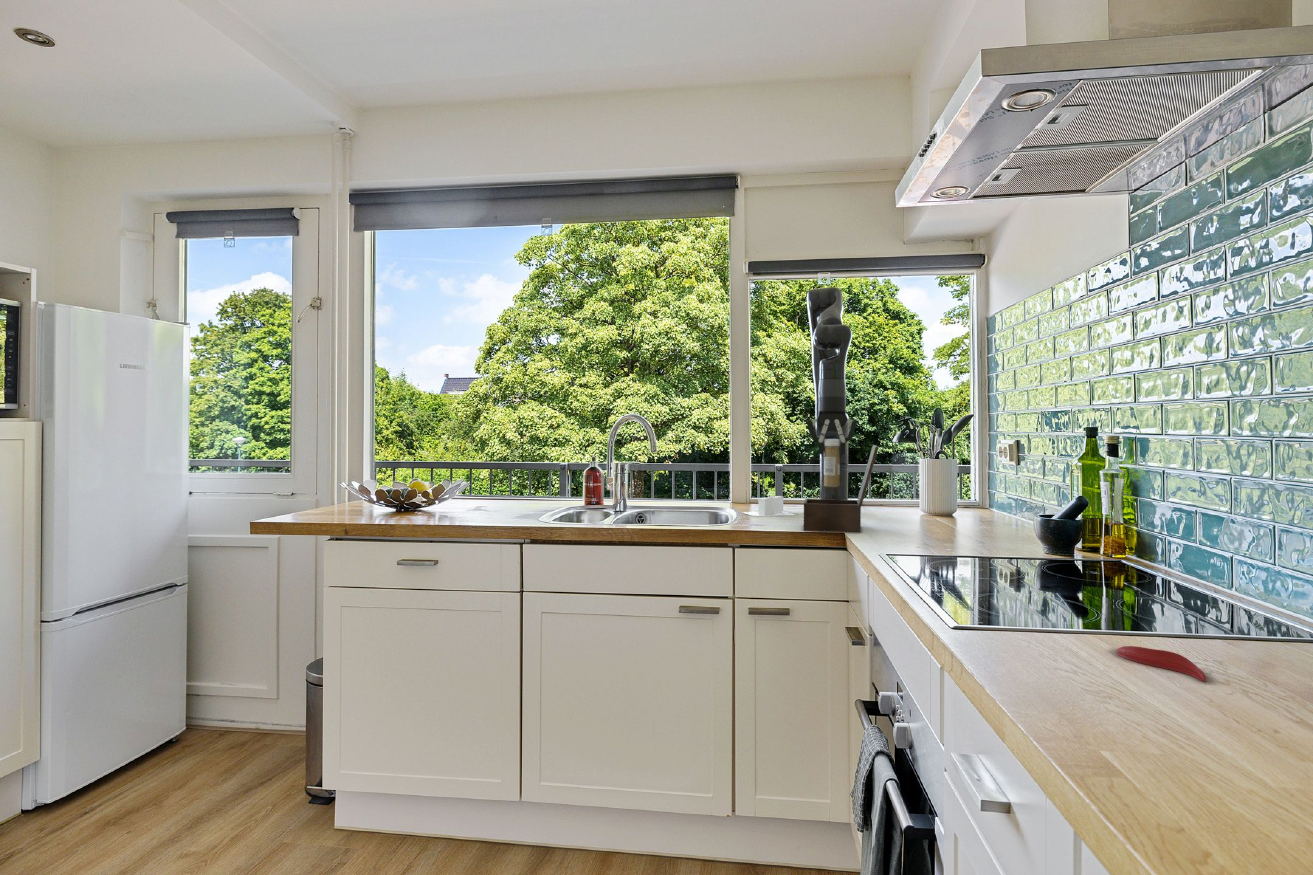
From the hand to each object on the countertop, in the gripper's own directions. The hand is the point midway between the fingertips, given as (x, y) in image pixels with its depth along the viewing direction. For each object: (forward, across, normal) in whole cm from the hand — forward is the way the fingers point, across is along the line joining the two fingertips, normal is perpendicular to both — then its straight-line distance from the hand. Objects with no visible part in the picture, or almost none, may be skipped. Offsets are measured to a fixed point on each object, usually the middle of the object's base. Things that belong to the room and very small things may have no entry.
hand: (831, 455), depth 209 cm
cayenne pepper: (+20, -39, +112) cm, 121 cm away
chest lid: (+5, -9, 0) cm, 11 cm away
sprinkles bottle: (+9, 0, 0) cm, 9 cm away
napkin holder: (+21, +20, -30) cm, 42 cm away
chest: (+21, 0, 0) cm, 21 cm away
